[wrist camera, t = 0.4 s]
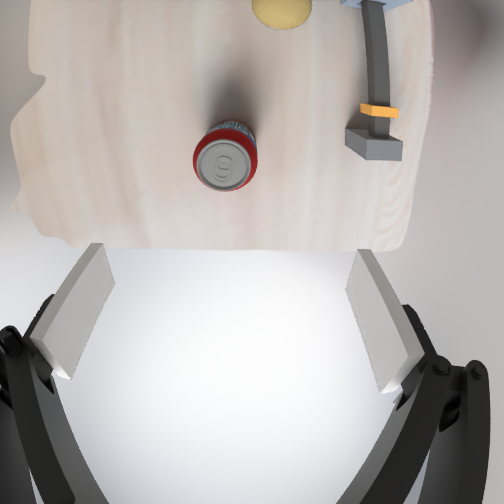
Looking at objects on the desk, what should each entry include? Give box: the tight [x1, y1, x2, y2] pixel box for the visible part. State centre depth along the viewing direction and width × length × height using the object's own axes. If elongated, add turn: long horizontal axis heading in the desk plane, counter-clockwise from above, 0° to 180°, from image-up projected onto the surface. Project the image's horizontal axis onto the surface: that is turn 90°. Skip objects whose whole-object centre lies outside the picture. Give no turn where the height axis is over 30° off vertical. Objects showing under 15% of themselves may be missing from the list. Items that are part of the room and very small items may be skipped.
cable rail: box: [345, 0, 403, 161], centre depth 24 cm, size 32×8×8 cm, turn 5°
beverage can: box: [193, 120, 258, 191], centre depth 31 cm, size 7×7×12 cm
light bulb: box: [252, 0, 312, 29], centre depth 22 cm, size 6×6×10 cm
